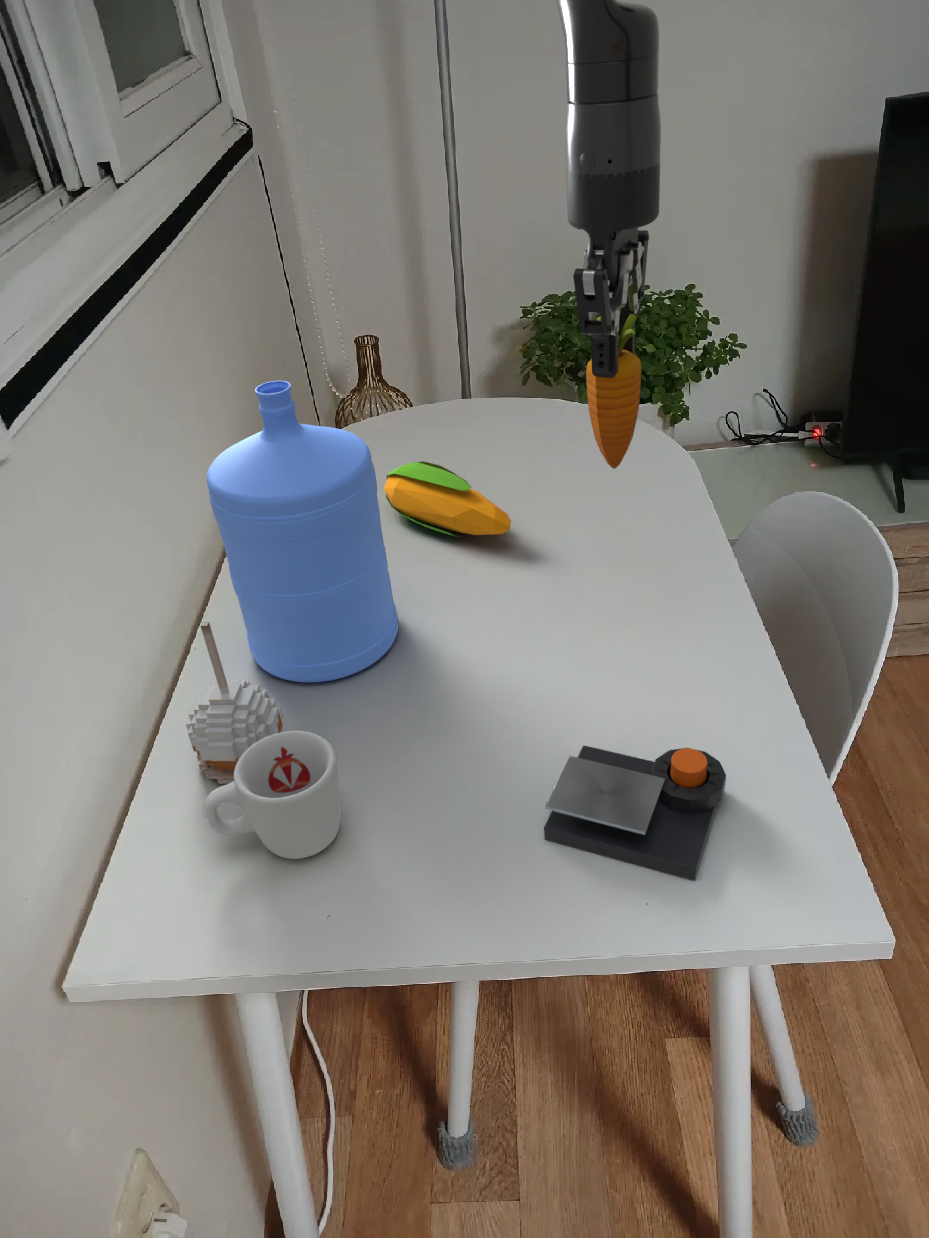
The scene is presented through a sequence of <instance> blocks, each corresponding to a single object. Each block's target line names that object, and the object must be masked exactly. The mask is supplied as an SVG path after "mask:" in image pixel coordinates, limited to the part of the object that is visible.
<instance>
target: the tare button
mask: <svg viewBox="0 0 929 1238" xmlns="http://www.w3.org/2000/svg"><path fill="white" fill-rule="evenodd" d="M685 748H686V749H681V748H680V749H681V750H678V751H676V752H675V753H674V754H673V756H672V758H671V774H670V775H671V778H672V780H673V781H674V782H675V783H676V784H677V785H679V786H681V787H685V788H696V787H699V786H701V785H702V784H703V783H704V782H705V780H706V773H707V758H706V757H705V755H704V754H703V753H701V752H700V751H701V750H700V751H698V750H699V749H696V750H695V748H691V749H689V748H690V747H685Z"/></svg>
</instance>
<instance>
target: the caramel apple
mask: <svg viewBox="0 0 929 1238" xmlns="http://www.w3.org/2000/svg"><path fill="white" fill-rule="evenodd" d="M200 629H201V632H202V636H203V640H204V642H205V646H206V649H207V652H208V656H209V659H210V663H211V665H212V669H213V672H214V676H215V679H216V683H215V684H211V685H210V686H209V687H205V689H204V691H203V692H200V695H199V697H196V698H195V701H194V703H193V704H192V706H191V709H190V711H189V713H188V718H187V720H186V723H185V727H186V729H187V735H188V738H189V741H190V744H191V748H192V750H193V752H194V753H195V752H196V754H197V755H196V759H197V761H198V762H199V763H198V768H199V770H201V771H202V773H203V775H206V777H207V779H209V780H216V781H217V784H229V783H231V782H233V781H234V770H235V766H236V764H237V762H238V760H239V759H240V757H241V756H242V754H243V753H244V752H245V751H246V750H247V749H248V748H249V747H251V746H252V745H253V744H254V743H256V742H258V741H259V740H261V739H263V738H265V737H268V736H270V735H273V734H276V733H280V732H284V731H282V730H283V727H284V726H283V725H284V724H283V722H282V721H283V719H284V716H283V715H284V714H283V711H282V708H281V707H279V706H278V704H277V701H276V699H275V698H270V697H269V694H268V690H267V689H261V687H260V684H250V680H246V679H227V678H226V675H225V671H224V668H223V665H222V661H221V657H220V655H219V651H218V648H217V643H216V640H215V637H214V634H213V629H212V626H211V624H210V621H202V622H201V624H200Z"/></svg>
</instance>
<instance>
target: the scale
mask: <svg viewBox="0 0 929 1238" xmlns="http://www.w3.org/2000/svg"><path fill="white" fill-rule="evenodd" d="M686 748H687V747H682V748H674V749H669V750H667V751H666V752H664V753H663V754H661V755H659V756H658V757H656V759H655V760H654V761H652V760H648V759H644V758H641V757H635V756H631V755H627V754H623V753H619V752H614V751H610V750H605V749H601V748H597V747H593V746H589V745H582V747H581V749H580V751H579V753H578V755H577V758H581V759H585V760H590V761H594V762H598V763H602V764H606V765H611V766H615V767H619V768H623V769H627V770H632V771H636V772H640V773H644V774H648V775H653V776H657V777H661V778H665V783H664V786H663V788H662V791H661V794H660V797H659V799H658V802H657V805H656V807H655V810H654V813H653V816H652V818H651V821H650V824H649V826H648V829H647V832H646V835H643V834H639V833H635V832H631V831H627V830H624V829H620V828H616V827H612V826H608V825H605V824H601V823H597V822H593V821H589V820H586V819H582V818H578V817H574V816H570V815H567V814H563V813H559V812H555V811H551V812H550V814H549V816H548V819H547V820H546V823H545V825H544V827H543V835H544V840H545V841H549V842H553V843H557V844H560V845H563V846H567V847H571V848H575V849H578V850H582V851H585V852H588V853H593V854H596V855H600V856H605V857H608V858H611V859H615V860H618V861H622V862H625V863H629V864H633V865H637V866H640V867H644V868H648V869H651V870H655V871H658V872H662V873H666V874H670V875H672V876H677V877H680V878H683V879H687V880H691V881H696V878H697V876H698V872H699V868H700V865H701V861H702V858H703V855H704V851H705V848H706V845H707V841H708V838H709V835H710V831H711V828H712V826H713V822H714V818H715V814H716V812H717V808H718V805H719V803H721V802H722V799H723V796H724V793H725V789H726V781H727V774H726V772H725V769H724V768H723V765H722V763H721V761H719V760H718V759H717V758H716V757H713V755H711V754H709V753H708V752H706V751H704V750H701V749H695V748H694V749H695V750H698V751H700V752H701V753H703V754H704V755H705V757H706V758H707V773H706V780H705V782H704V783H703V784H702V785H701V786H699V787H696V788H685V787H681V786H679V785H677V784H676V783H675V782H674V781H673V780H672V778H671V775H670V774H671V758H672V756H673V754H674V753H675V752H676V751H678V750H681V749H686ZM688 748H689V749H692V748H691V747H688Z"/></svg>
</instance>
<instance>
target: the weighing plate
mask: <svg viewBox="0 0 929 1238" xmlns="http://www.w3.org/2000/svg"><path fill="white" fill-rule="evenodd" d="M577 757H578V756H577ZM577 757H576V756H572V755H569V756H568V758H567V761H566V763H565V765H564V767H563V769H562V771H561V773H560V775H559V777H558V778H557V781H556V784H555V785H554V787H553V789H552V791H551V793H550V795H549V798H548V799H547V802H546V803H545V805H544V809H545V810H548V811H551V812H552V811H555V812H559V813H563V814H567V815H570V816H574V817H578V818H582V819H586V820H589V821H593V822H597V823H601V824H605V825H608V826H612V827H616V828H620V829H624V830H627V831H631V832H635V833H639V834H643V835H646V832H647V829H648V826H649V824H650V821H651V818H652V816H653V813H654V810H655V807H656V805H657V802H658V799H659V797H660V794H661V791H662V788H663V786H664V783H665V778H661V777H657V776H653V775H648V774H644V773H640V772H636V771H632V770H627V769H623V768H619V767H615V766H611V765H606V764H602V763H598V762H594V761H590V760H585V759H581V758H577Z"/></svg>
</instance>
